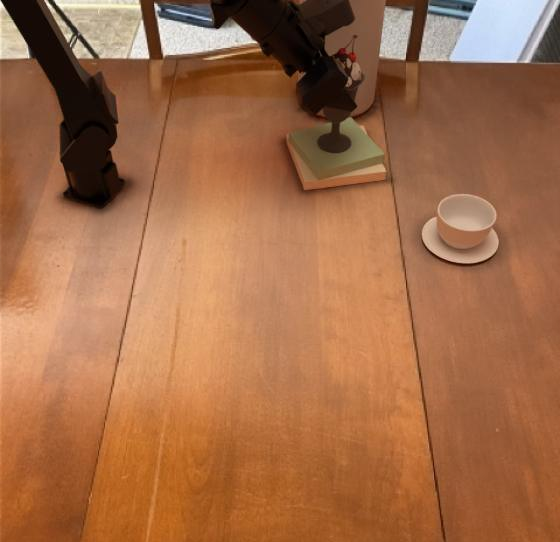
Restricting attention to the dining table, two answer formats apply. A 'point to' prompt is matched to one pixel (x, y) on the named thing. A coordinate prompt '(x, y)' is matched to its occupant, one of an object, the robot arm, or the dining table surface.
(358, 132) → the block stack
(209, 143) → the dining table surface
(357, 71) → the sundae
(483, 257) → the teacup
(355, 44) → the cylinder vase
